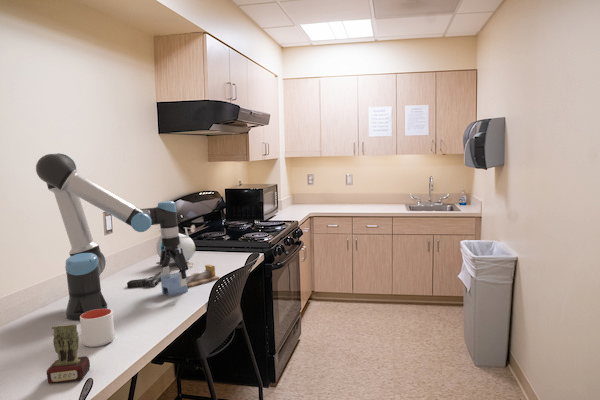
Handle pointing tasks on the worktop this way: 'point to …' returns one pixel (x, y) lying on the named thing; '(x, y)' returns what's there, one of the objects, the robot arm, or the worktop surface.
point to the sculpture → (67, 356)
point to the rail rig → (202, 277)
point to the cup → (97, 327)
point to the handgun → (146, 281)
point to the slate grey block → (172, 285)
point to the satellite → (181, 246)
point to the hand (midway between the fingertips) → (175, 283)
